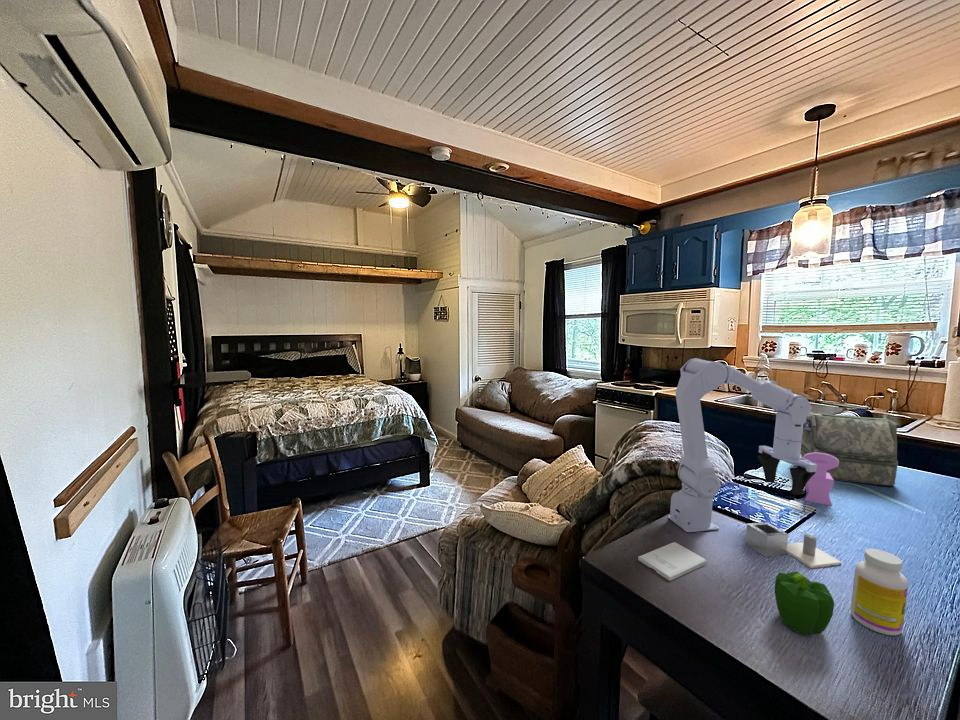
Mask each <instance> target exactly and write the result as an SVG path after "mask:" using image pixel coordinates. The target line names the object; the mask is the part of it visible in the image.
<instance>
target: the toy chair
mask: <svg viewBox="0 0 960 720" xmlns="http://www.w3.org/2000/svg"><path fill="white" fill-rule="evenodd" d="M803 458H805V459H806V460H808V461H810V462H812V463H815V464H817V470H816V473H815V474H814V475H813V476H812V477H811V478H810V479H809V481H808V482H807V483H806V485H805V489H806V492H805V493H807V495H806V497H805V499H804V501H805V502H806V501H807V502H811V503H816V504H822V505H827V506H833V503H832V501H831V498H830V492H831V490H832V488H833V487H834V483H835V480H834V479H833V478H832V477H831V475H830V473H827V470H830V469H833V468H836V467H837V466H838V465H839V460H838V459H837V458H836V457H834V456H832V455H829V454H825V453H818V452H814V453H807V454H805V455H804V456H803Z"/></svg>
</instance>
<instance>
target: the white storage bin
mask: <svg viewBox="0 0 960 720" xmlns="http://www.w3.org/2000/svg"><path fill="white" fill-rule="evenodd" d="M788 540H789V533H787V532H785V531H784V530H782V529H780V528H778V527H776V526H775V525H773V524H771V523H770V522H768V521H763V522H752V523H749V522H748V523H746V529H745V541H744V542H745V544H747V546H748V547H751V548H752V549H754V550H755V551H757V552H758V553H759V554H760V555H762V556H764V557H766V558H767V557H776V556H784V555H785V556H786V555H787V554H788V553H787V544H788Z"/></svg>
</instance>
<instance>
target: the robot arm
mask: <svg viewBox="0 0 960 720" xmlns="http://www.w3.org/2000/svg"><path fill="white" fill-rule="evenodd" d="M679 370H680V377H679V380H678V384H677V386H676V390H675V400H676V401H675V402H676V407H677V414H678V419H679V420H678V422H679V429H680V436H681V442H682V443H681V444H682V449H683V456H682V457H681V458H679V467H678V471H677V475H678V478H679V480H680V481H681V489H680V490H678V491H676V492H674V493H672V494H671V496H670V508H669V509H670V510H669V511H670V512H669V515H668V516H667V518H668V519H669V520H670V521H672V522H673V523H674V524H676V525H677V526H678V527H679V528H681V529H682V530H683V531H684V532H686V533H695V532H696V533H697V532H704V531H714V530H716V531H717V530H719V529H720V527H719V526H718V525H716V524H715V523H713V522H712V515H713V514H712V513H713V501H714V498H715V496H716V495H717V494H718V493H719V491H720V489H721V481H720V478H719V477H718V476H717V474H716V469H715V467H714V465H713V464H712V462H711V461H710V459H709V457H708V450H707V449H708V448H707V443H706V433H705V428H704V427H705V426H704V421H703V420H704V419H703V418H704V417H703V413H702V406H701V405H702V404H701V399H702V398H703V397H704V396H706V395H707V394H709V393H710V392H712V391H714V390H716V389H717V388H719V387H720V386H722V385H723V384H726V385H727V384H732V385H734V386H736V387H739V388H741V389H743V390H745V391H748V392H749V393H750V395H751V397H752V398H753V400H756V402H760V403H762V404H764V405H765V406H767V407H769V408H771V409H772V411H774V412H776V414H775V425H774V426H775V427H774V436H773V444H772V446H773V447H771V446H767V445H759V446H758V453H760V454H761V455H758V456H757V459H758V461H759V462H760V464H761V467H762V470H763V474H764V479H765V482H766V483H775V481H776V478H777V477H776V476H777V469H778V466H779V463H780V462H781V461H782V462H785V463H788V464H790V465H793V466H795V467H790V468H789V471H790V476H791V493H792V495H793V496H797V495H798V496H799V495H802V493H803V492H804V491H803V489H804V487H805V485H806V483H807V482H808V481H809V479H810V478H811V477H812V476H813V475H814V474H815V473H816V470H817V464H815V463H812V462H810V461H808V460H806V459H805V458H803V457H802V455H801V454H800V453H801V443H802V433H803V424H804V423H805V422H806V417H807V416H808V415H809V413H810V412H812V409H813V407H812V406H811V403H810V401H809V400H808V398H807V397H806V396H803V395H801V394H800V395H799V394H796V393H793V390H792V389H790V388H785V387H781V386H780V385H778V383H777V381H775V380H772V379H767V380H766V379H762V380H759V381H758V380H757V379H755V378H753V377H751V376H749V375H747V374H745V373H744V372H742V371H740V370H738V369H736V368H734V367H733V366H731V365H727V364H723V363H722V362H719V361H711V360H704V359H701V358H698V357H695V358H691V359H688V360H687V361H686V362H685V364H683V365H682V367H681V368H680V369H679Z"/></svg>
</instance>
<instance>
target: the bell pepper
mask: <svg viewBox="0 0 960 720" xmlns="http://www.w3.org/2000/svg"><path fill="white" fill-rule="evenodd" d="M774 596H775V601H776V606H777V610H778V614H779V616H780V617H781V620H782V622H783V623H784V625H786V626H787V627H788V628H789V629H791V630H793V631H795V632H796V633H799V634H801V635H802V634H803V635H810V634H811V633H813V634H818V635H819V634H821V633H824V632H825V631H826V629H827V628H828V625H829V623H830V622H831V620H832V617H833V615H834V610H835V609H834V607H835V600H834V599H833V596H832V594H831V592H830V590H829V589H828V587H827V586H826V584H824V583H822V582H819V581H814V580H813V581H811V580H810V579H808V577H806V576H804V575H803V574H801V573H800V572H798V571H792V572H786V573H785V572H780V571H779V572H778V573H777V575H776V576H775V582H774Z"/></svg>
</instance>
